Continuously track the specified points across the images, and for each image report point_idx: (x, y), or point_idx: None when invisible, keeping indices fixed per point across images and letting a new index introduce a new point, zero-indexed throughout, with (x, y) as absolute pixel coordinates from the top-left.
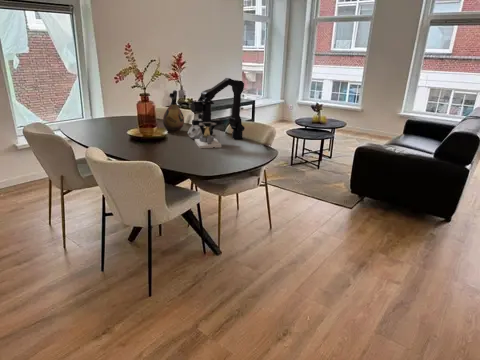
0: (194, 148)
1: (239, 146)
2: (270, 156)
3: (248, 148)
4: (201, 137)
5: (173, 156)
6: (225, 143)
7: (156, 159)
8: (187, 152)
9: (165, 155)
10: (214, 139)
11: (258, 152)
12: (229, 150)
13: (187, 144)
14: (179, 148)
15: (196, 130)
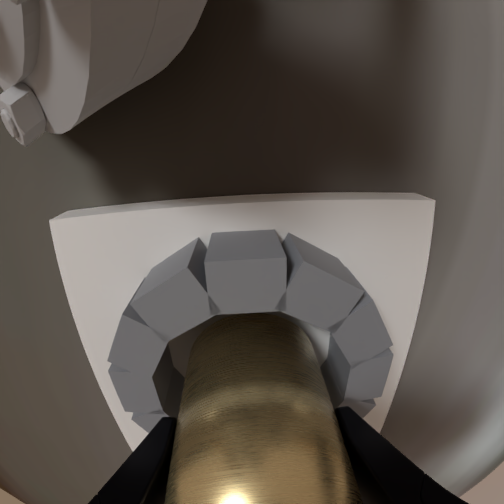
0: (114, 463)
1: (480, 416)
2: (462, 494)
3: (486, 439)
4: (148, 414)
5: (53, 500)
6: (457, 352)
7: (16, 493)
8: (92, 495)
9: (17, 480)
10: (400, 284)
11: (469, 475)
12: None
13: (20, 353)
14: (15, 429)
15: (3, 25)
